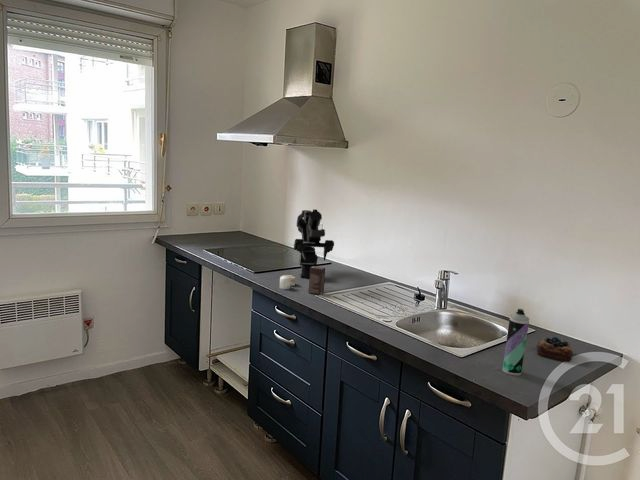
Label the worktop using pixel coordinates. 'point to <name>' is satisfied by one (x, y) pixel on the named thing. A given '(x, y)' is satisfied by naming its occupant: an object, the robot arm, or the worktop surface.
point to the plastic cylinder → (285, 282)
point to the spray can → (516, 343)
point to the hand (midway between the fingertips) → (315, 259)
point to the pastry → (554, 349)
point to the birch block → (291, 280)
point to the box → (316, 280)
